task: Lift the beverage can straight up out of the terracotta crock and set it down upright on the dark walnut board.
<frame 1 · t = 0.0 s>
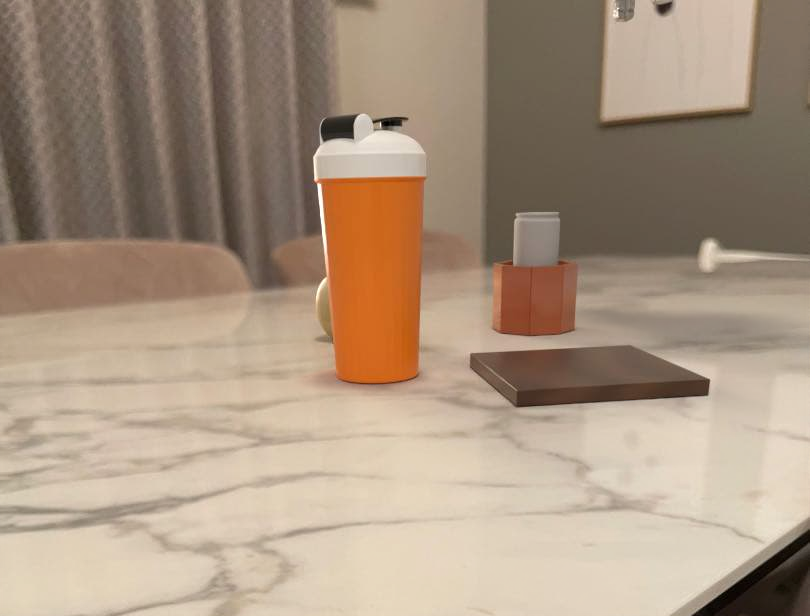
hand: (641, 12, 84), 30 cm above the table, tool pointing down, fingers open, 8 cm apart
board: (579, 379, 70), on the table
shaker bottle: (377, 377, 73), on the table
apple: (354, 339, 91), on the table
crock: (533, 328, 94), on the table
beverage can: (533, 330, 94), resting in crock
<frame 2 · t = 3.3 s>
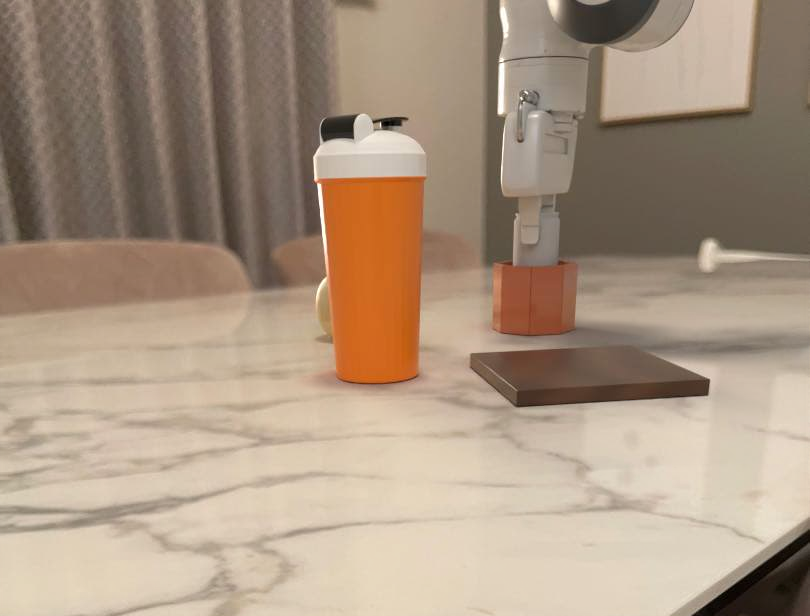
hand: (536, 241, 90), 9 cm above the table, tool pointing down, fingers closed on beverage can, 5 cm apart
beverage can: (532, 330, 94), resting in crock, touching gripper
everything else where it was.
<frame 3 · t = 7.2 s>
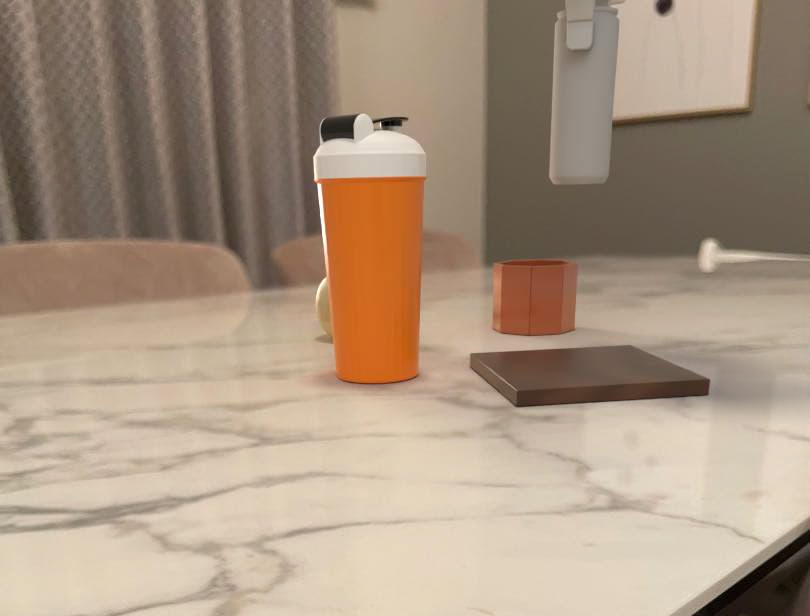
hand: (586, 55, 65), 24 cm above the table, tool pointing down, fingers closed on beverage can, 5 cm apart
beverage can: (578, 186, 69), point 15 cm above the table, touching gripper
everything else where it was.
when the fingers open (10 cm above the table, at t = 11.2 s): beverage can stays where it is, point 1 cm above the table.
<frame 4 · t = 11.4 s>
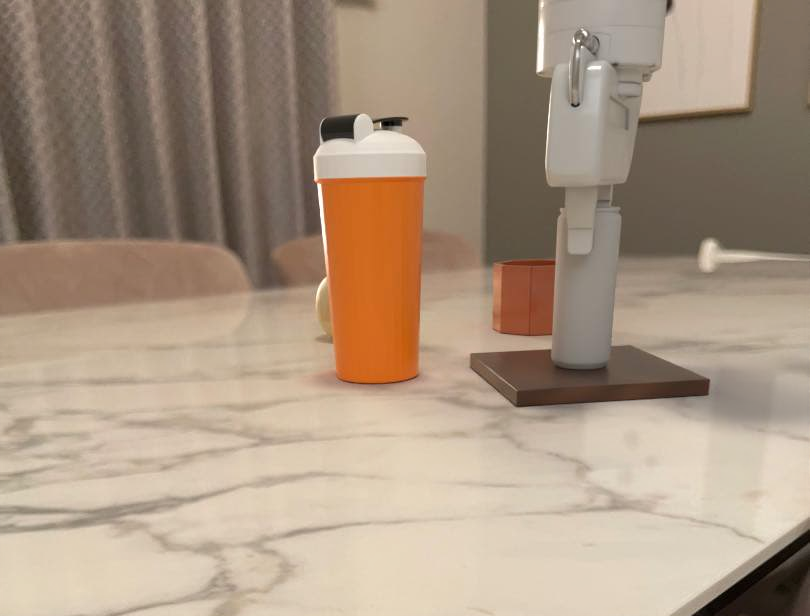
hand: (587, 250, 66), 10 cm above the table, tool pointing down, fingers open, 6 cm apart
beverage can: (580, 367, 69), point 1 cm above the table
everything else where it was.
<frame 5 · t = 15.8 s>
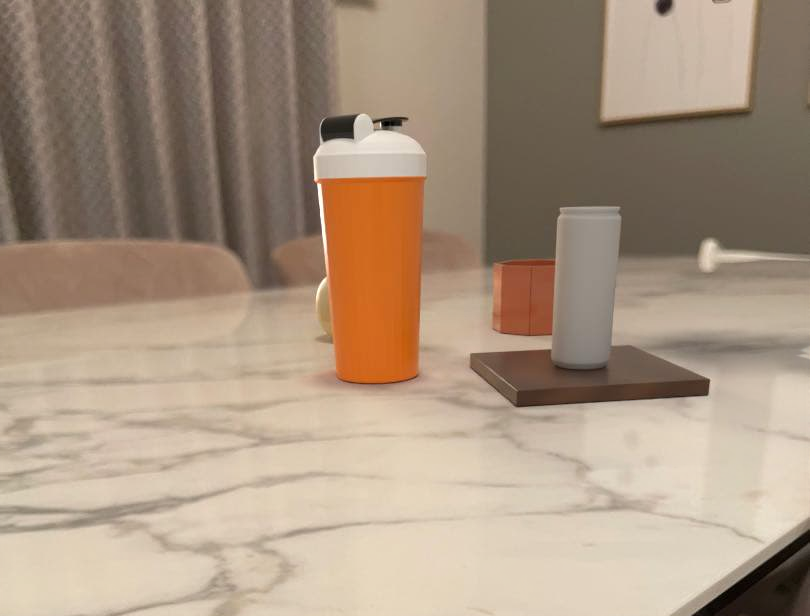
beverage can: (580, 367, 69), point 1 cm above the table, touching board
everything else where it was.
at the end: beverage can inside the target area on the board (0.0 cm from its centre), point 1.0 cm above the board's base; beverage can tilted 0°; the gripper is holding nothing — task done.
